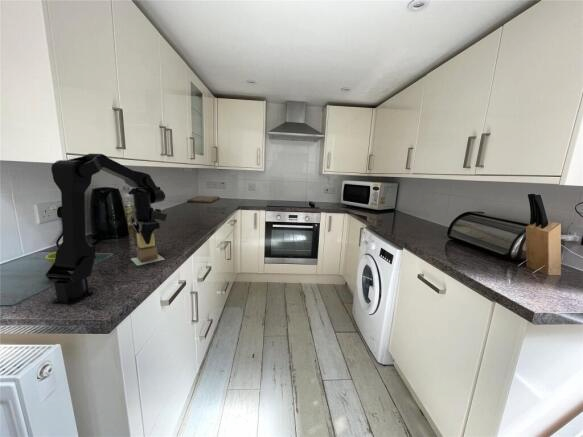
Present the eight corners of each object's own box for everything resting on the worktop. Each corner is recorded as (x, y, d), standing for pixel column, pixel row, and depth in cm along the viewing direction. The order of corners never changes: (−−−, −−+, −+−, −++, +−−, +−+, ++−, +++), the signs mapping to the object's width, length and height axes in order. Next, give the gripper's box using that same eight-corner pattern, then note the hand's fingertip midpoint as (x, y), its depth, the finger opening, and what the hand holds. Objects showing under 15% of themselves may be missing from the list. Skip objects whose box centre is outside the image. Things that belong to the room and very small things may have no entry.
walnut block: (157, 259, 98) (157, 247, 97) (141, 262, 94) (140, 250, 93) (153, 255, 102) (152, 244, 101) (137, 258, 98) (136, 247, 97)
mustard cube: (154, 245, 97) (154, 233, 96) (141, 248, 93) (139, 236, 92) (151, 242, 100) (150, 231, 99) (137, 245, 97) (136, 233, 96)
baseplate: (164, 260, 98) (164, 259, 98) (137, 267, 91) (137, 265, 91) (156, 254, 105) (156, 253, 105) (130, 259, 98) (130, 258, 98)
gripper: (172, 206, 93) (175, 243, 96) (156, 201, 105) (159, 234, 108) (140, 208, 85) (144, 249, 88) (127, 203, 97) (131, 238, 100)
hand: (146, 242), depth 96 cm, fingers closed on mustard cube, 5 cm apart
